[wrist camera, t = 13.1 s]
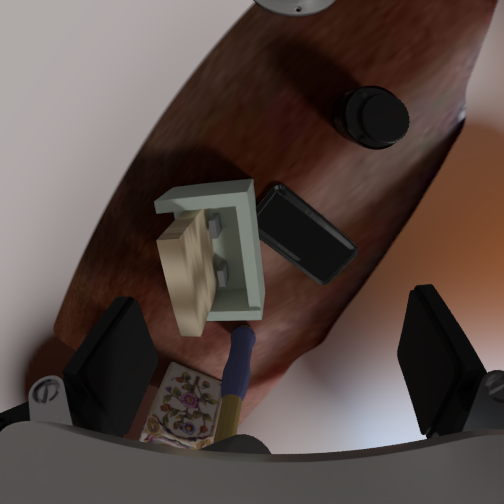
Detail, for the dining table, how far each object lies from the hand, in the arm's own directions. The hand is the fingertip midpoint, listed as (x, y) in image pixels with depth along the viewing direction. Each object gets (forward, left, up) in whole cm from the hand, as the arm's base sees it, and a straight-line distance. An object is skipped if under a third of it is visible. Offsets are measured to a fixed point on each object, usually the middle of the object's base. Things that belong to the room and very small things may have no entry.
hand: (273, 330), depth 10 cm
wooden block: (+10, -11, -31) cm, 34 cm away
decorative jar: (+41, -21, -32) cm, 56 cm away
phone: (+10, +2, -33) cm, 34 cm away
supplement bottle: (-6, +10, -32) cm, 34 cm away
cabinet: (+10, -9, -32) cm, 35 cm away
